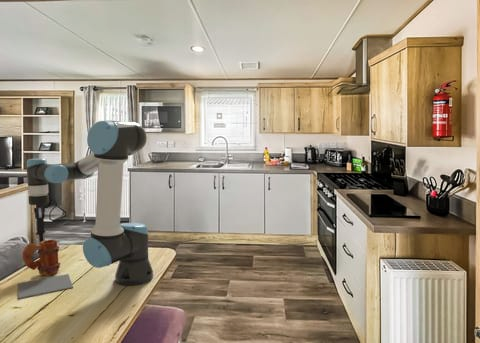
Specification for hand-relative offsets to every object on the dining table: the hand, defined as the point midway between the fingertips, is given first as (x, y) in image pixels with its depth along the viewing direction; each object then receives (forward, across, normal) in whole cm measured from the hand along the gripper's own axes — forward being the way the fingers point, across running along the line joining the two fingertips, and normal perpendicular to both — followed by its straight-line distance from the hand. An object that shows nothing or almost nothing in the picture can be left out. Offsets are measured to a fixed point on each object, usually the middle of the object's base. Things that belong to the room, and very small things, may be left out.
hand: (41, 248), depth 153 cm
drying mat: (+10, +18, 0) cm, 21 cm away
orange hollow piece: (+11, +6, 0) cm, 12 cm away
